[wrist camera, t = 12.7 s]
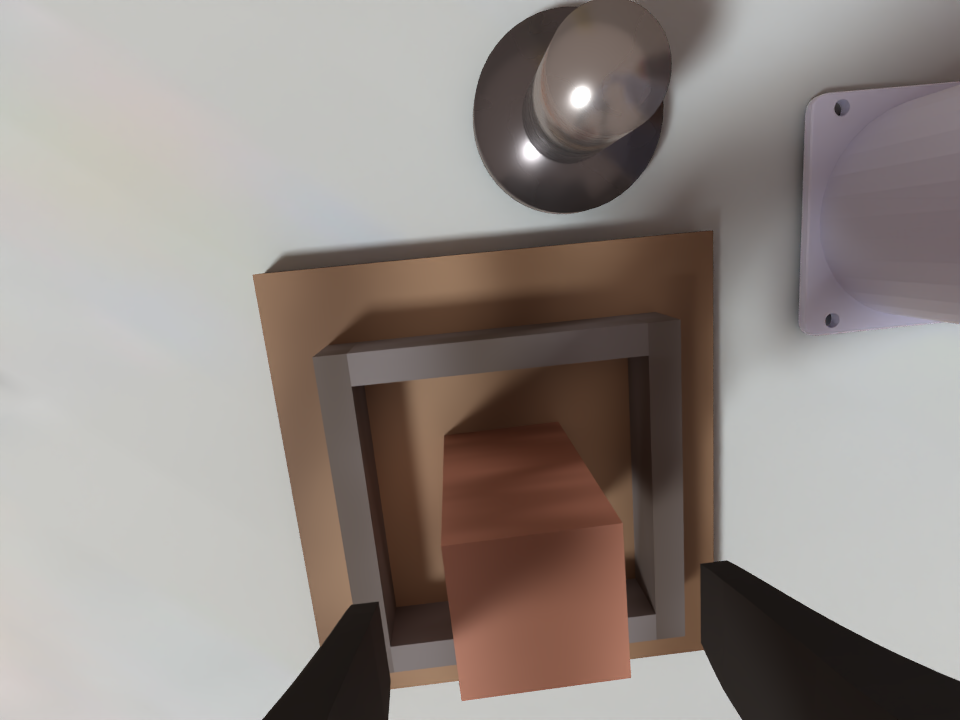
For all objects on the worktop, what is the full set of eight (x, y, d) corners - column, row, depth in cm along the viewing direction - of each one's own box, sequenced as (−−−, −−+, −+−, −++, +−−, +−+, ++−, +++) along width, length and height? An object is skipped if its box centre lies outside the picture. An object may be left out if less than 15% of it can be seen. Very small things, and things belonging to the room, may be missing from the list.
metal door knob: (651, 10, 17) (734, -87, 12) (656, 205, 18) (732, 189, 13) (464, 25, 17) (470, -68, 12) (482, 222, 18) (494, 211, 13)
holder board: (699, 231, 18) (746, 228, 15) (701, 630, 22) (741, 690, 19) (263, 273, 18) (226, 277, 15) (334, 676, 21) (316, 744, 18)
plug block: (558, 421, 18) (622, 523, 12) (566, 525, 19) (631, 677, 12) (444, 435, 18) (441, 546, 11) (457, 539, 19) (461, 701, 12)
